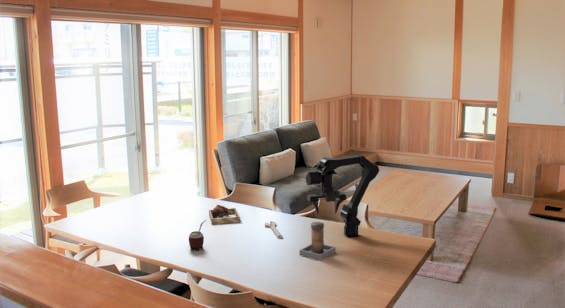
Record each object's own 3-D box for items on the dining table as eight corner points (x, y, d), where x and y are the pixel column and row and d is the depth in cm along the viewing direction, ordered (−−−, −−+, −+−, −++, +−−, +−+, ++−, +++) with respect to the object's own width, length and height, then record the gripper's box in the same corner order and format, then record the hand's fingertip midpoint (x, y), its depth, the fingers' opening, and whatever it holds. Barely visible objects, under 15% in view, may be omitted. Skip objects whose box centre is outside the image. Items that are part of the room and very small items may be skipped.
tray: (314, 246, 255) (314, 242, 255) (335, 252, 248) (335, 247, 248) (299, 254, 245) (299, 249, 245) (320, 260, 238) (320, 255, 238)
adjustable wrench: (283, 239, 268) (283, 236, 267) (270, 240, 266) (270, 237, 266) (275, 223, 292) (275, 220, 291) (263, 224, 291) (263, 221, 290)
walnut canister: (316, 248, 251) (316, 221, 248) (326, 251, 247) (326, 223, 244) (308, 251, 247) (308, 224, 244) (318, 255, 242) (318, 227, 240)
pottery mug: (208, 217, 306) (213, 203, 307) (223, 222, 308) (228, 209, 310) (213, 217, 294) (218, 203, 296) (228, 223, 297) (233, 209, 299)
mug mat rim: (235, 212, 311) (235, 208, 311) (240, 221, 295) (239, 216, 294) (209, 214, 308) (208, 209, 307) (211, 224, 291) (211, 218, 291)
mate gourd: (187, 247, 256) (186, 217, 253) (203, 245, 259) (202, 215, 256) (191, 252, 249) (190, 222, 247) (207, 250, 252) (206, 220, 250)
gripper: (313, 188, 251) (313, 220, 254) (350, 186, 255) (349, 217, 258) (306, 183, 262) (306, 213, 265) (342, 180, 266) (342, 210, 269)
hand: (326, 213), depth 264 cm, fingers open, 9 cm apart
